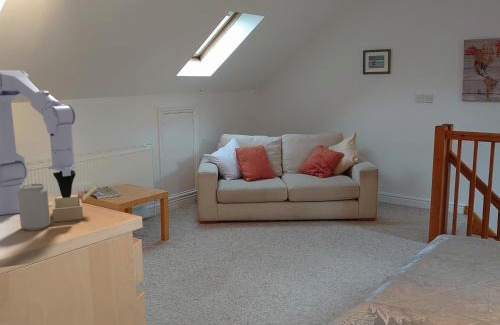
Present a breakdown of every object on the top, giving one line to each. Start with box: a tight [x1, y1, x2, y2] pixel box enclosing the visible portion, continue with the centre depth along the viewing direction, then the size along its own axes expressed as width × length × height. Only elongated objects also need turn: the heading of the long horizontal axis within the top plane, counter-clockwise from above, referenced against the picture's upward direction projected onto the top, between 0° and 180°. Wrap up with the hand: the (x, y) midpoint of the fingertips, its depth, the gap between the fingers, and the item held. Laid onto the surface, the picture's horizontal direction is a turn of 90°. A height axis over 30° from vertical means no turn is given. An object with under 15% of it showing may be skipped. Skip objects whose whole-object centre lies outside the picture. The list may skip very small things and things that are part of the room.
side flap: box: [82, 185, 97, 202], centre depth 145 cm, size 5×5×1 cm
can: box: [18, 183, 51, 232], centre depth 131 cm, size 8×8×12 cm
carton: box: [48, 194, 84, 224], centre depth 143 cm, size 15×12×4 cm
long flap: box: [54, 196, 79, 208], centre depth 134 cm, size 5×6×1 cm
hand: (66, 197), depth 132 cm, fingers closed
